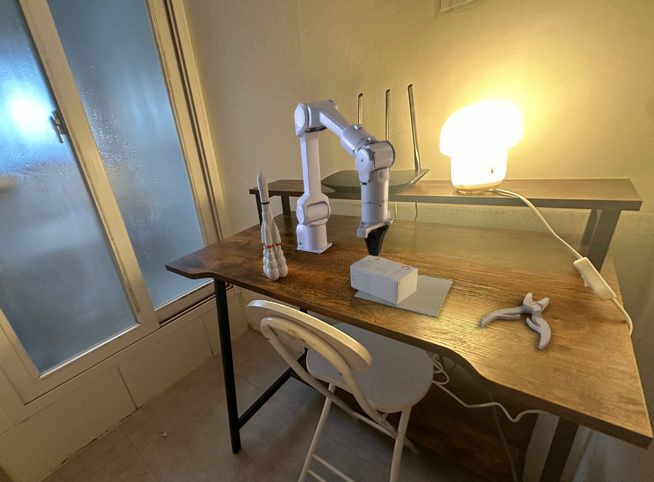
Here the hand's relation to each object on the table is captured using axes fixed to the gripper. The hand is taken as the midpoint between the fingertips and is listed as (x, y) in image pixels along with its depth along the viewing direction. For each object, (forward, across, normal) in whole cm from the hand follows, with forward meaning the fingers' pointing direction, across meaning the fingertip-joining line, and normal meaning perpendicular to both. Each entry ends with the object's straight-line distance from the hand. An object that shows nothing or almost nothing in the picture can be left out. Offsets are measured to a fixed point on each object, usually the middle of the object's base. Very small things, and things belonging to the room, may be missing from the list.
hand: (374, 254), depth 74 cm
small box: (+5, -1, +4) cm, 6 cm away
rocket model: (+8, -8, +26) cm, 28 cm away
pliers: (+8, -1, -30) cm, 31 cm away
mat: (+8, 0, -7) cm, 11 cm away
